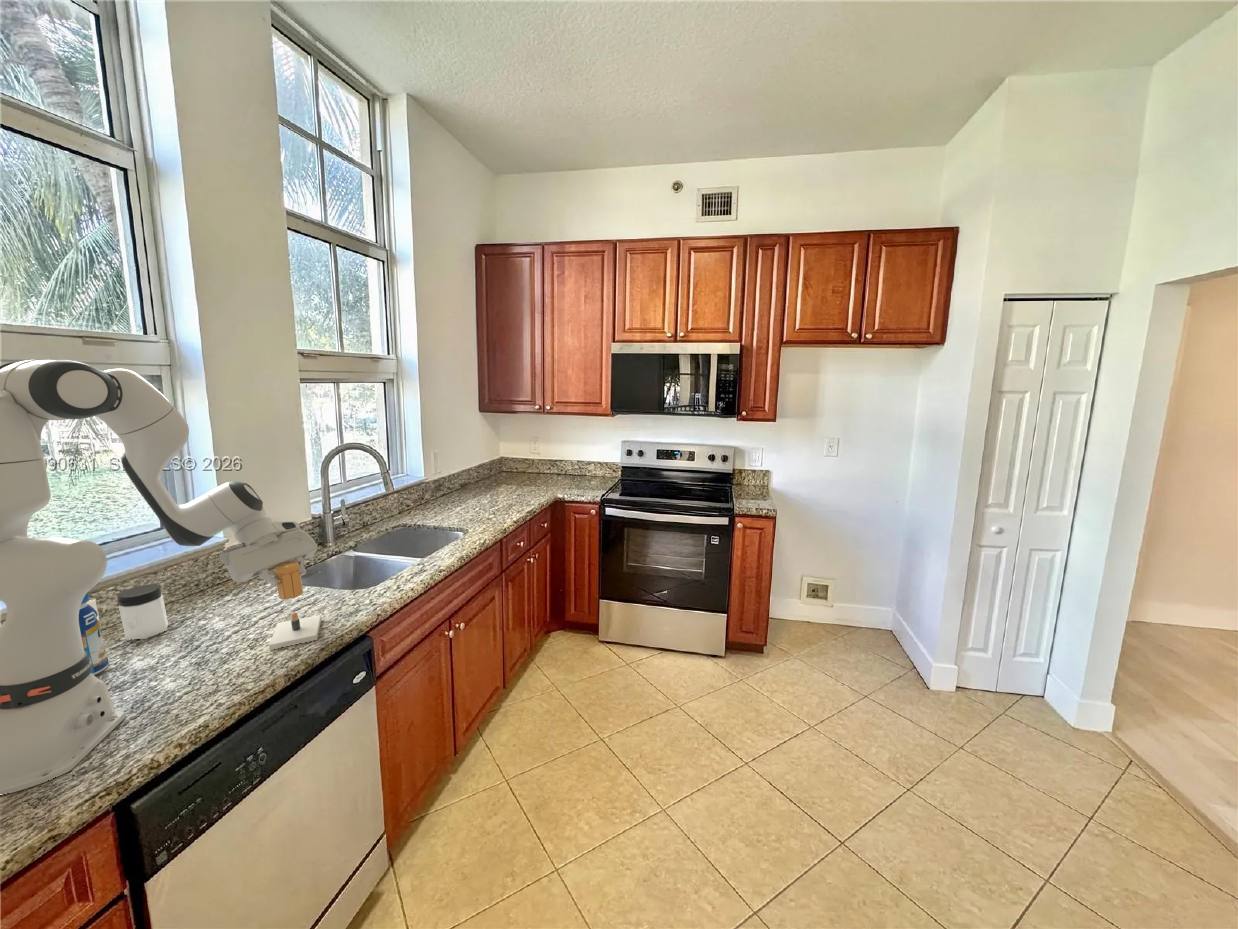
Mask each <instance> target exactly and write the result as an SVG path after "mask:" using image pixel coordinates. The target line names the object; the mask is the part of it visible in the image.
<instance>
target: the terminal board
mask: <svg viewBox="0 0 1238 929" xmlns="http://www.w3.org/2000/svg"><path fill="white" fill-rule="evenodd" d="M290 617H291V619H290V620H287V621H282V622H277V623H276V626H275V628H274V632H273V634H272V636H271V639H270V642H269V645H268V646H269V651H274V649H275V650H278V648H279V649H282V648H281V647H284V648H287V647H286V646H289V647H291V646H290V645H293V646H296V645H295V644H298V645H300V644H299V643H303V644H306V643H305V642H307V643H310V642H309V641H312V642H314V641H313V640H316V641H318V639H317V638H319V634H318V633H320V628H321V624H322V615H321V614H317V615H312V616H308V617H303V618H302V617H301V618H299V614H298V613H297V612H293V613H291V615H290Z"/></svg>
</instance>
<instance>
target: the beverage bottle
mask: <svg viewBox="0 0 1238 929" xmlns="http://www.w3.org/2000/svg"><path fill="white" fill-rule="evenodd" d="M89 601H90V597H89V591H88V592H87V594H86V595H85V596H84V598H83V600H82V603H81V606H80V610H79V627H80V632H81V638H82V642H83V647H84V651H85V652H87V653H88V654H89V657H90V658H91V662H92V663H91V665H92V672H91V673H92V674H93V675H94V676H96V675H98V674H100V673H102V672H103V671H105V670H106V669H107V668H108V667H109V664H110V663H109V662H110V661H109V658H108V656H107V651H106V650H107V649H106V647H105V642H104V637H103V633H102V623H101V621H100V620H99V619H98V618H97V617H98V614H99V613H98V611H97V610H96V609H95V608H94V607H93V606H92V605H89V604H88V602H89Z"/></svg>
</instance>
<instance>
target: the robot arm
mask: <svg viewBox="0 0 1238 929" xmlns="http://www.w3.org/2000/svg"><path fill="white" fill-rule="evenodd" d="M92 417H96V418H98V419H99V420H100V421H101V422H104V424H106V426H107V427H108V428H109V429H110V430H111V431H112V432H113V433H114V434H115V435H116V436H118V438H119V439H120V440H121V443H122V444H123V447H124V453H123V454H122V456H121V457H120V460H121V462H120V463H121V464H122V465H121V466H122V467H123V469H124V471H125V474H126V475H127V476H128V478H129V479H130V481H131V482H132V484H133V485H134V487H135V488H136V489H137V491H138V492H139V494H140V496H142V498H143V499H144V500H145V502H146V503H147V505H148V506H149V507H150V509H151V510H152V511H153V513H154V514H155V516H156V517H157V518H158V519H159V521H160V522H161V524H162V526H163V529H164V531H165V532H166V534H167V536H168V537H169V538H170V539H171V540H172V541H174V543H176V544H177V545H179V546H184V547H200V546H202V545H203V544H205V543H206V542H208V541H210V540H211V539H212V538H214V537H215V536H216V535H218V534H220V533H221V532H224V531H225V530H227V529H230V530H231V531H232V533H233V536H234V539H235V540H236V541H237V543H238V544H236V545H234V546H230V547H225V548H223V549H222V551H221V552H219V554H218V559H219V560H220V561H221V563H223V564H224V565H225V566H226V570H227V572H228V574H229V576H230V577H231V579H232V580H233V582H236V583H243V582H245V581H247V580H250V579H253V578H257V577H259V579H261V580H262V581H265V582H267V583H269V584H270V585H271V586H272V587H277V585H279V584H280V583H281V580H280V579H279V577H278V576H276V575H275V576H273V575H271V574H269V573H270V572H272V571H273V572H274V570H275V567H276V566H278V565H280V564H283V563H287V562H298V563H299V568H300V573H301V577H302V576H304V575H306V573H307V570H306V568H305V567H304V561H305V559H308V558H311V557H313V556H314V555H315V554H316V553H317V551H318V545H317V542H316V541H315V540H314V539H313V537H312V536H311V535H310V534H309V533H308V532H306V531H305V530H303V529H300V527H301V525H300V523H299V522H297V521H276V520H275V521H274V520H273V519H272V518H271V517H270V516H268V515H267V513H266V511H265V508H264V506H263V503H264V502H263V500H262V499H261V497H260V496H259V495H258V494H257V492H256V491H255V489H254V488H253V487H252V486H251V485H250V484H248V483H246V482H243V481H235V480H230V481H229V480H228V481H227V482H224V483H222V484H220V485H218V486H216V487H214V488H212V489H211V490H208V491H207V492H205V493H203V494H201V495H199V496H198V497H196V498H194V499H192V500H190V501H188V502H187V503H183V504H178V503H177V502H176V501H175V500H174V498H173V497H172V496H171V494H170V492H169V491H168V490H167V488H166V487H165V485H164V484H163V483H162V481H161V479H160V476H161V474H162V472H163V470H164V469H165V467H166V466H168V465H169V463H170V462H171V461H172V460H173V459H174V458H175V457H177V455H178V454H179V453H180V452H181V451H182V449H183V448H184V446H185V445H186V443H187V441H188V439H189V434H190V428H189V424H188V423H187V421H186V420H185V418H184V417H183V415H182V414H181V413H180V412H179V410H178V409H177V408H176V407H175V406H174V405H173V404H172V403H171V401H169V399H167V397H166V396H164V394H163V393H161V391H159V390H158V389H157V388H156V387H155V386H154V385H153V384H151V383H150V382H148V381H147V380H146V379H145V378H143V377H142V376H141V375H139V374H138V373H136V372H135V371H133V370H130V369H125V368H112V369H105V370H100V369H98V368H97V367H94V366H92V365H89V364H87V363H85V362H80V361H77V360H69V359H57V360H56V359H55V360H54V359H52V360H51V359H46V358H42V359H40V358H38V359H37V358H36V359H30V360H29V359H27V360H22V361H13V362H8V363H5V364H2V365H0V602H3V603H4V604H5V606H6V617H5V622H4V623H3V624H2V625H0V794H5V793H9V794H12V793H13V794H14V793H15V792H19V791H22V790H26V789H29V788H32V787H35V786H38V785H41V784H43V783H47V782H49V781H52V780H53V778H54V779H56V778H58V777H60V776H62V775H64V774H66V773H68V772H71V770H72V769H74V768H75V767H76V766H77V765H79V763H80V762H81V761H82V760H83V759H84V758H86V757H87V755H88V754H89V753H91V751H93V749H94V748H95V747H96V746H98V745H99V744H100V743H101V742H102V741H103V740H104V739H105V738H106V737H107V736H108V735H110V733H111V732H112V731H113V730H114V729H115V728H116V727H117V726H118V725H120V724H121V723H122V722H123V721H124V719H125V718H126V714H125V711H122V710H117V709H115V706H114V704H113V700H112V698H111V694H110V693H109V692H110V691H109V690H108V686H107V685H106V682H105V681H104V680H101V679H99V678H98V677H96V675H93V674H92V673H91V672H92V665H91V663H92V662H91V658H90V657H89V654H88V653H87V652H85V651H84V647H83V642H82V638H81V632H80V627H79V610H80V606H81V603H82V600H83V598H84V596H85V595H86V594H87V592H88V593H89V592H90V590H92V589H93V588H94V587H96V586H97V585H98V583H100V581H101V580H102V579H103V577H104V576H105V573H106V571H107V567H108V558H107V554H106V553H105V551H104V549H103V548H102V547H101V545H99V544H98V543H96V542H94V541H90V540H86V539H85V540H84V539H80V538H73V537H65V536H49V537H46V536H44V537H42V536H41V537H29V536H28V527H29V524H30V520H31V519H32V517H33V515H34V514H35V513H37V512H39V511H40V510H41V511H42V510H43V508H45V507H47V505H48V504H49V502H50V500H51V497H52V496H51V495H52V494H51V489H50V484H49V478H48V477H49V476H48V473H47V468H46V463H45V462H46V461H45V457H44V451H43V447H42V443H41V440H42V439H41V438H42V431H43V430H44V427H45V426H46V424H47V423H48V422H49V421H65V420H66V421H67V420H81V419H82V420H83V419H87V418H92ZM55 777H56V778H55ZM48 780H49V781H48Z"/></svg>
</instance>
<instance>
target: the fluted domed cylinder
mask: <svg viewBox="0 0 1238 929" xmlns="http://www.w3.org/2000/svg"><path fill="white" fill-rule="evenodd" d="M276 576H278V577H279V579H280V580H281V583H280V584H279V585H277V586H276V588H277V594H278V599H281V600H289V599H294V598H297V597H299V596H302V595H303V593H304V588H303V582H302V576H301V573H300V568H299V563H298V562H287V563H283V564H280V565H278V566H276V567H275V577H276Z"/></svg>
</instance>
